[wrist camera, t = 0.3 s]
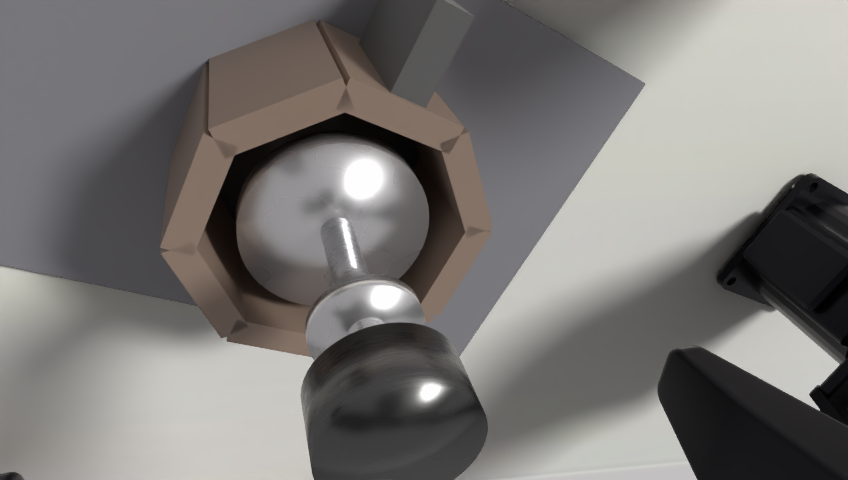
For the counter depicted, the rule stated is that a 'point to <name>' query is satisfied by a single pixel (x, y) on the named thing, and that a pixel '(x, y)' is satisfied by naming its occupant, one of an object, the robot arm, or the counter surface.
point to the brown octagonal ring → (313, 112)
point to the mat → (170, 99)
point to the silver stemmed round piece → (359, 308)
